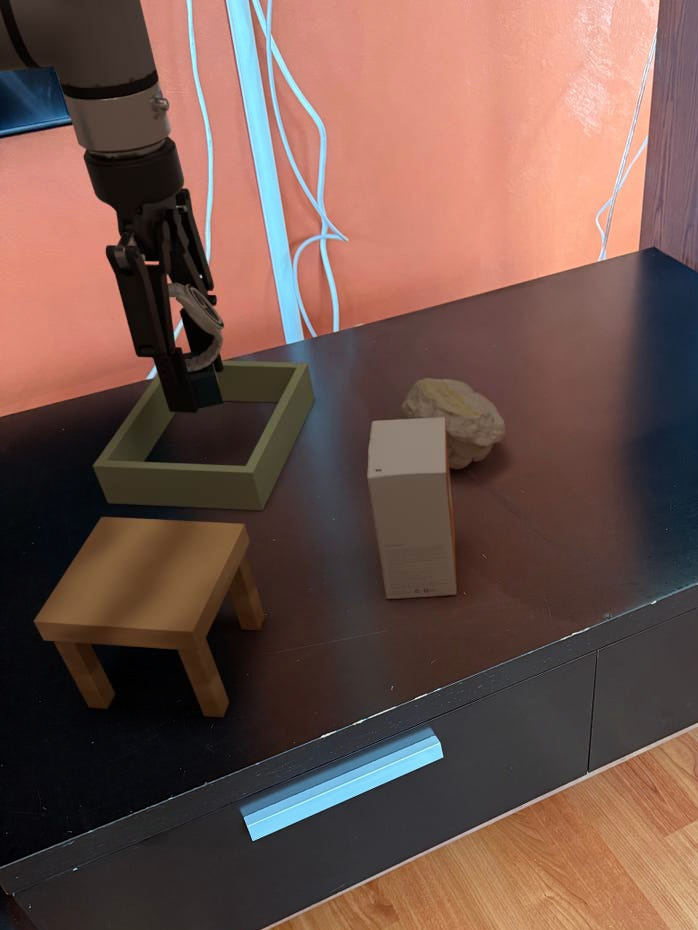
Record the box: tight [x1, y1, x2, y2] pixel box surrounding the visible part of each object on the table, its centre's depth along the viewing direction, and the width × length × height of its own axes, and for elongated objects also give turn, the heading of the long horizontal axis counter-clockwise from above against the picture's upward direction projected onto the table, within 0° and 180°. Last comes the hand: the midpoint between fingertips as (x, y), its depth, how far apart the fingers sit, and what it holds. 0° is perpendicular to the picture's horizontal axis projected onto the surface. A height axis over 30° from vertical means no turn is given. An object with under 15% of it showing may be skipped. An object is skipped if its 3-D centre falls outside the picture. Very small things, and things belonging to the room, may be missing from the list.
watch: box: [168, 282, 225, 413], centre depth 91 cm, size 6×8×11 cm
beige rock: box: [400, 377, 506, 470], centre depth 95 cm, size 12×8×10 cm
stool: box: [33, 516, 266, 718], centre depth 75 cm, size 12×12×10 cm
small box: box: [366, 417, 458, 600], centre depth 80 cm, size 8×6×13 cm
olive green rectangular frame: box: [92, 360, 316, 511], centre depth 98 cm, size 16×20×4 cm
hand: (197, 389), depth 95 cm, fingers closed on watch, 7 cm apart
